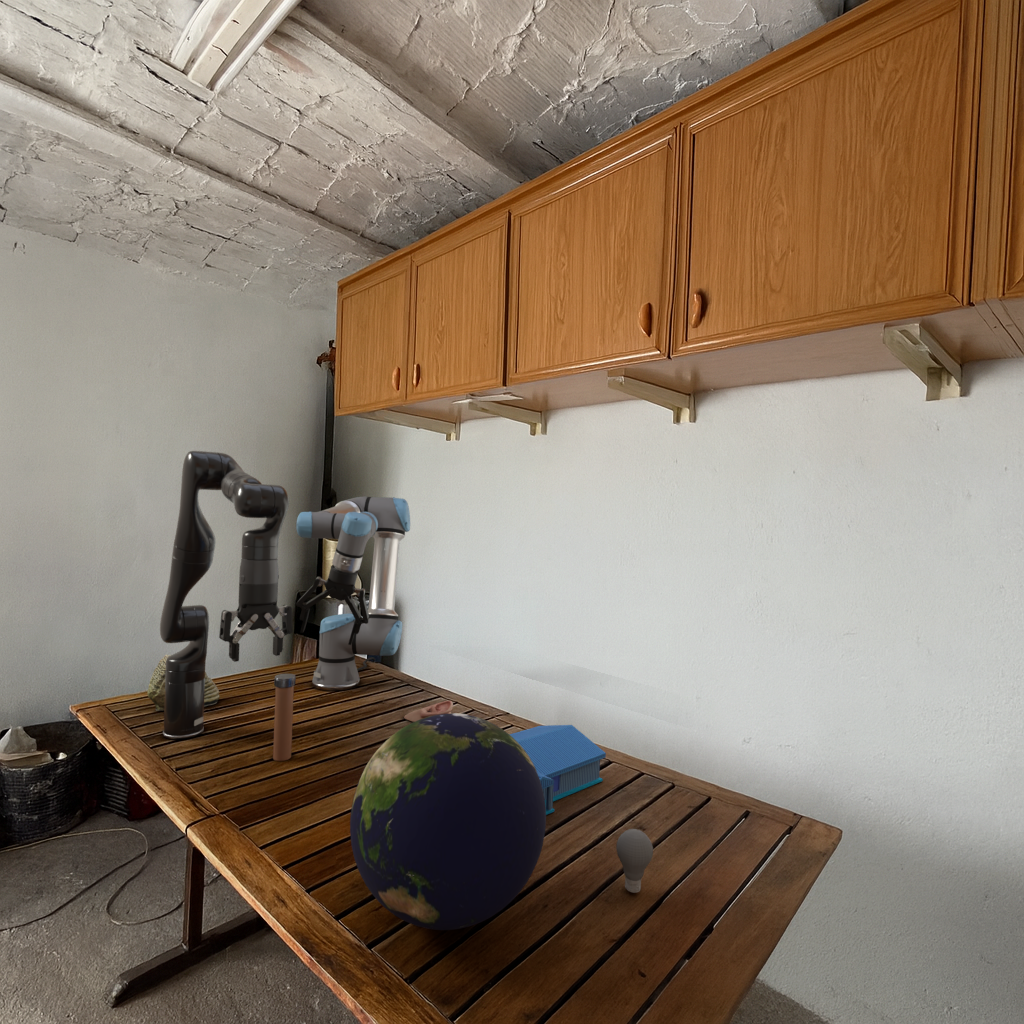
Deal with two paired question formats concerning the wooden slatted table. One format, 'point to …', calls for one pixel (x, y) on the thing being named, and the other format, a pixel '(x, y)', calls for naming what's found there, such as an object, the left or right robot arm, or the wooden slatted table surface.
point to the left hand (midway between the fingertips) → (256, 657)
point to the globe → (448, 821)
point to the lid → (284, 680)
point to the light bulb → (634, 857)
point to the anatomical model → (430, 711)
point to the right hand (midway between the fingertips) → (326, 637)
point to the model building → (561, 760)
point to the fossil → (158, 687)
